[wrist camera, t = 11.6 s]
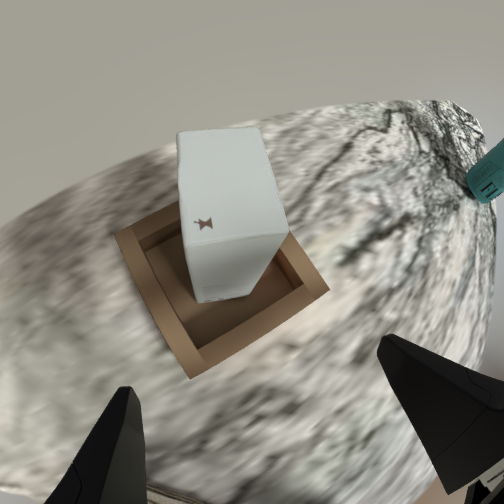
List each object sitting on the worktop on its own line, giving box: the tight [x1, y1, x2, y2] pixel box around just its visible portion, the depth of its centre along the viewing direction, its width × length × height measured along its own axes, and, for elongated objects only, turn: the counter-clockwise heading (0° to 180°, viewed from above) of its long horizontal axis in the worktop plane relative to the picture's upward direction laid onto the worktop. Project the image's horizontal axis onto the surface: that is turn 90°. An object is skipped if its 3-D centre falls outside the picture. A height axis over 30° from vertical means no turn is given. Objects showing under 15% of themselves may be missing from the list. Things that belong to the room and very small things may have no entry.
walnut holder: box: [114, 201, 330, 379], centre depth 21 cm, size 12×12×4 cm
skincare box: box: [176, 127, 289, 303], centre depth 17 cm, size 6×4×12 cm
